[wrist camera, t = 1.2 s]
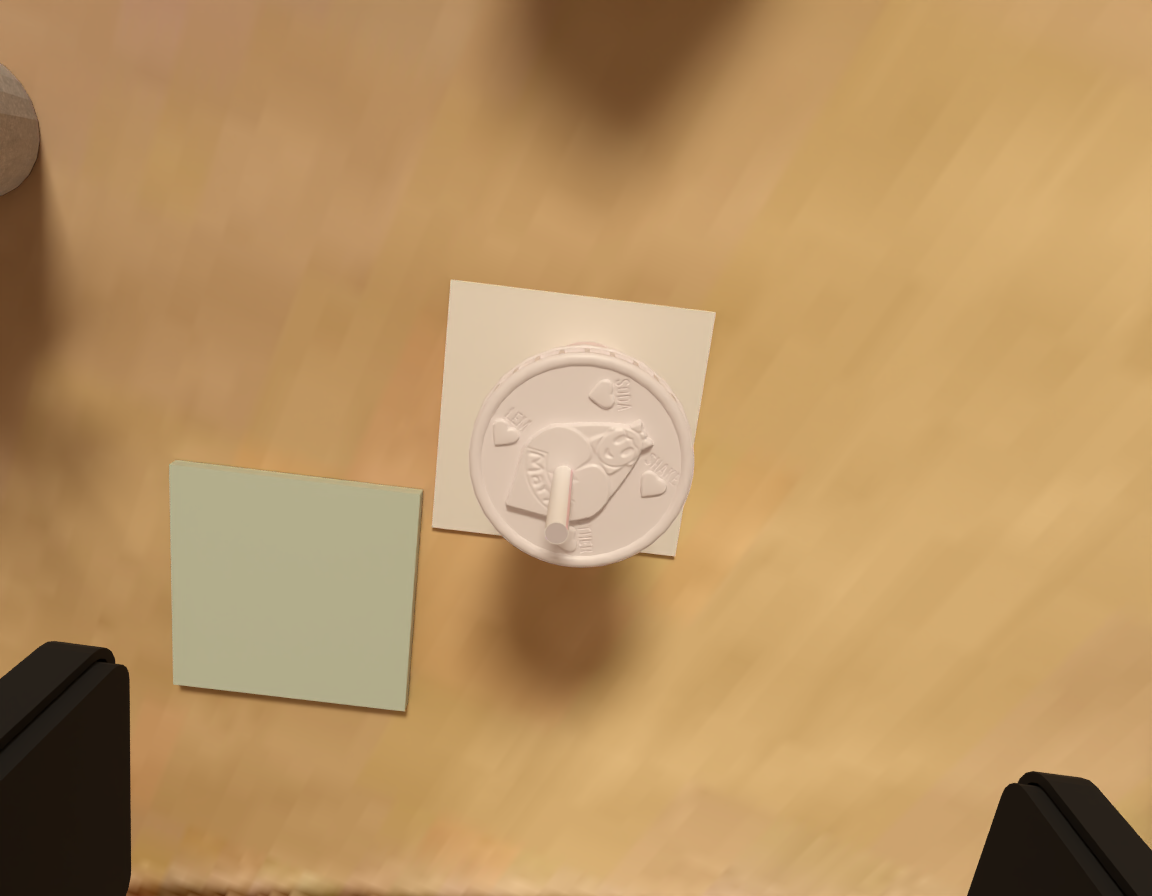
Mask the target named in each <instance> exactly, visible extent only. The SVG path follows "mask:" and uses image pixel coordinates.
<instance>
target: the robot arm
mask: <svg viewBox="0 0 1152 896" xmlns="http://www.w3.org/2000/svg"><path fill="white" fill-rule="evenodd" d="M130 876H131V810H130V690H129V672H128V670H127V668H126V667H125V666H124V665H120V664H115V658H114V656H113V654H112V651H110V650H109V649H107V648H102V647H95V646H87V645H80V644H72V643H65V642H57V641H51V642H47V643H45V644H43V645H42V646H40V647H39V648H37V649H36V650H35V651H34V652H32V653H31V654H30V655H29V656H28V657H26V658H25V659H24V660H23V661H22V662H20V663H19V664H18V665H17V666H15V667H14V668H13V669H12V670H11V671H9V672H8V673H7V674H6V675H4V676H3V677H2V678H1V679H0V896H126V893H127V890H128V887H129V882H130ZM967 896H1152V850H1151V849H1150V848H1149V847H1148V846H1147V844H1146V843H1145V842H1144V841H1143V840H1142V839H1141V838H1140V836H1139V835H1138V834H1137V833H1136V832H1135V831H1134V829H1133V828H1132V827H1131V826H1130V825H1129V824H1128V822H1127V821H1126V820H1125V819H1124V818H1123V817H1122V815H1121V814H1120V813H1119V812H1118V811H1117V810H1116V809H1115V807H1114V806H1113V805H1112V804H1111V803H1110V802H1109V800H1108V799H1107V798H1106V797H1105V796H1104V795H1103V793H1102V792H1101V791H1100V790H1099V789H1098V788H1097V787H1096V786H1095V785H1094V784H1093V783H1092V782H1091V781H1089V780H1087V779H1083V778H1079V777H1072V776H1064V775H1057V774H1049V773H1042V772H1034V771H1032V772H1028V773H1025V774H1024V775H1023V776H1022V777H1021V778H1020V779H1019V781H1018V783H1012V784H1009V785H1008V786H1007V787H1006V788H1005V789H1004V791H1003V793H1002V796H1001V799H1000V801H999V804H998V807H997V810H996V813H995V816H994V819H993V822H992V825H991V828H990V831H989V834H988V836H987V839H986V842H985V845H984V848H983V851H982V854H981V857H980V860H979V863H978V866H977V869H976V871H975V874H974V877H973V880H972V883H971V886H970V889H969V892H968V895H967Z"/></svg>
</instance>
